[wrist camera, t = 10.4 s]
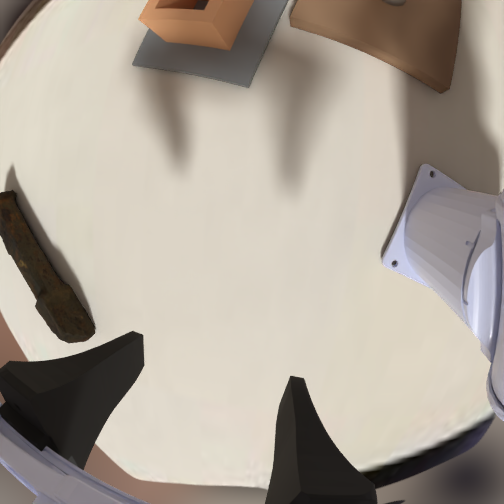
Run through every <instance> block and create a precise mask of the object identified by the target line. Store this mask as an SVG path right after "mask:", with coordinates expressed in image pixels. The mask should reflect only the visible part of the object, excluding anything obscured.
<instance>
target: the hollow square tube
mask: <svg viewBox="0 0 504 504" xmlns="http://www.w3.org/2000/svg"><path fill="white" fill-rule="evenodd" d="M197 1H198V0H149V1H148V2H147V4H146V6H145V8H144V9H143V11H142V13H141V15H140V17H139V19H138V20H140V21H141V22H142V23H143V24H145V25H146V26H147V27H149V28H150V29H151V30H152V31H153V32H155V33H156V34H157V35H158V36H160V37H161V38H162V39H163V40H164V41H166V42H171V43H181V44H190V45H198V46H205V47H212V48H218V49H223V50H229V51H230V50H231V47H232V45H233V43H234V41H235V39H236V36H237V34H238V32H239V30H240V28H241V26H242V24H243V22H244V20H245V18H246V15H247V13H248V11H249V9H250V7H251V6H252V4H253V2H254V0H203V1H209V2H208V4H207V6H206V7H205V9H204V10H194V9H193V8H194V6H195V5H196V3H197Z"/></svg>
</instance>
